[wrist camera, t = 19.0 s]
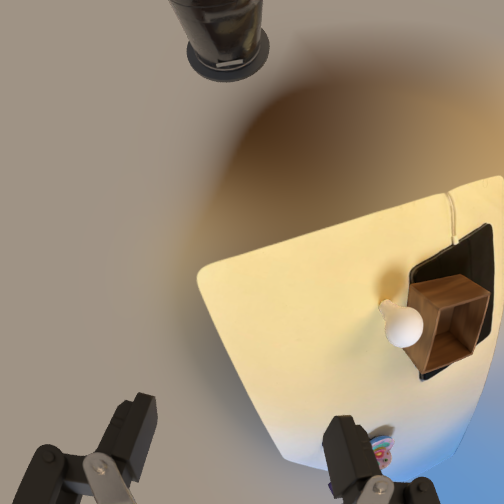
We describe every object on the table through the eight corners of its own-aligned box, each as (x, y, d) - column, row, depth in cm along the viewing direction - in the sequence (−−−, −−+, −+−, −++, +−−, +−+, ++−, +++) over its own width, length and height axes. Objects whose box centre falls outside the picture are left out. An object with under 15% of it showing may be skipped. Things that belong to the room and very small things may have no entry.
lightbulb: (362, 300, 42) (390, 336, 31) (391, 280, 41) (425, 310, 30) (374, 325, 43) (400, 362, 32) (402, 306, 42) (433, 338, 31)
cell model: (397, 425, 52) (409, 450, 43) (379, 449, 56) (388, 473, 46) (365, 430, 52) (376, 458, 43) (349, 454, 55) (356, 480, 46)
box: (409, 284, 41) (439, 308, 32) (460, 273, 40) (490, 292, 31) (399, 345, 44) (421, 374, 35) (448, 330, 44) (472, 354, 35)
